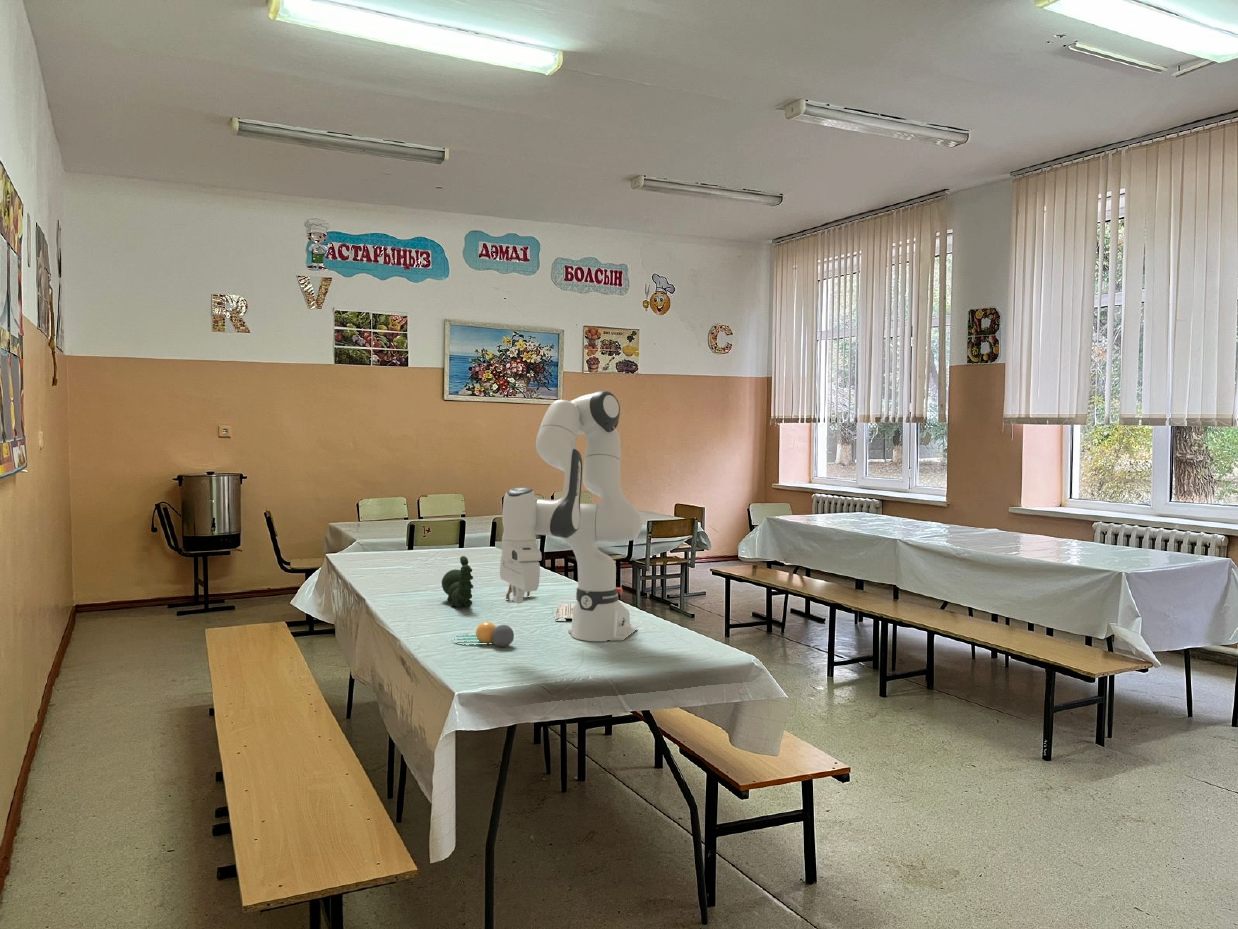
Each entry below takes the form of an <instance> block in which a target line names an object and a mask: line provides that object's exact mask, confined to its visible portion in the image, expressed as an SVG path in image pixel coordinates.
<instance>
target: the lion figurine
mask: <svg viewBox="0 0 1238 929" xmlns="http://www.w3.org/2000/svg"><path fill="white" fill-rule="evenodd" d="M511 593H512V589H511V584H510V583H509V585H508V591H507V593H505V600H506V599H508V601H507V602H510V601H511V600H510V599H511V598H510V595H511ZM530 594H531V591H527V592H526V597H527V596H530Z"/></svg>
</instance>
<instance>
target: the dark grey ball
mask: <svg viewBox="0 0 1238 929" xmlns="http://www.w3.org/2000/svg"><path fill="white" fill-rule="evenodd" d="M514 638H515V634H514V630H513V629H512V628H511V627H510V626H509V625H506V624H501V625H497V626H496V628H495V629H494V631H493V633H492V639H493V641H494V643H495V644H494V645H496V646H498V647H501V648H505V647H508V646H509V645H511V644H512V643H513V640H514Z"/></svg>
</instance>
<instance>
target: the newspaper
mask: <svg viewBox="0 0 1238 929" xmlns="http://www.w3.org/2000/svg"><path fill="white" fill-rule="evenodd" d="M573 604H574V603H573ZM573 604H572V603H558V604H557V606H556V607H557V611H556V619H555V618H554V620H555V622H556V620H558V619H559V618H566V619H572V616H573V606H574V605H573Z"/></svg>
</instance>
